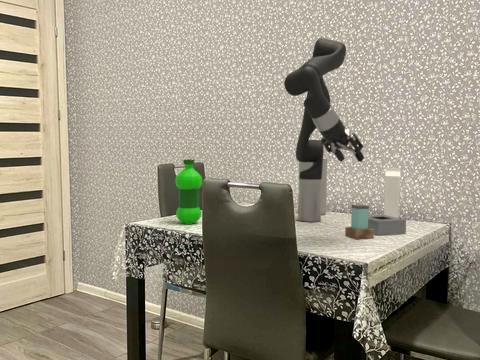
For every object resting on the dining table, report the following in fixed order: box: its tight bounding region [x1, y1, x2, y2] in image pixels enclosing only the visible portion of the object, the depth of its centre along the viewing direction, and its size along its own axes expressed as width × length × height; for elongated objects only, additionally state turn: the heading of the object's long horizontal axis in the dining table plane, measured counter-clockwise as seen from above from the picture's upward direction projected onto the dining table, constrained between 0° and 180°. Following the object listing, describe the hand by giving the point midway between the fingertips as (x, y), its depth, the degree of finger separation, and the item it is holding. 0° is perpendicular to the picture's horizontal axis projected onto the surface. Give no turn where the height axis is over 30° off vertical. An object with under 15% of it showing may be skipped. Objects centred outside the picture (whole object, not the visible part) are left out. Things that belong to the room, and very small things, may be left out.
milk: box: [383, 167, 402, 218], centre depth 199 cm, size 6×6×22 cm
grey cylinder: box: [297, 158, 328, 216], centre depth 215 cm, size 12×12×25 cm
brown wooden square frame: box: [344, 226, 375, 240], centre depth 163 cm, size 7×7×3 cm
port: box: [368, 214, 407, 237], centre depth 173 cm, size 12×12×5 cm
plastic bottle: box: [174, 158, 203, 225], centre depth 186 cm, size 10×10×25 cm
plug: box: [350, 203, 370, 230], centre depth 162 cm, size 4×4×11 cm
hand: (351, 160), depth 158 cm, fingers open, 8 cm apart
